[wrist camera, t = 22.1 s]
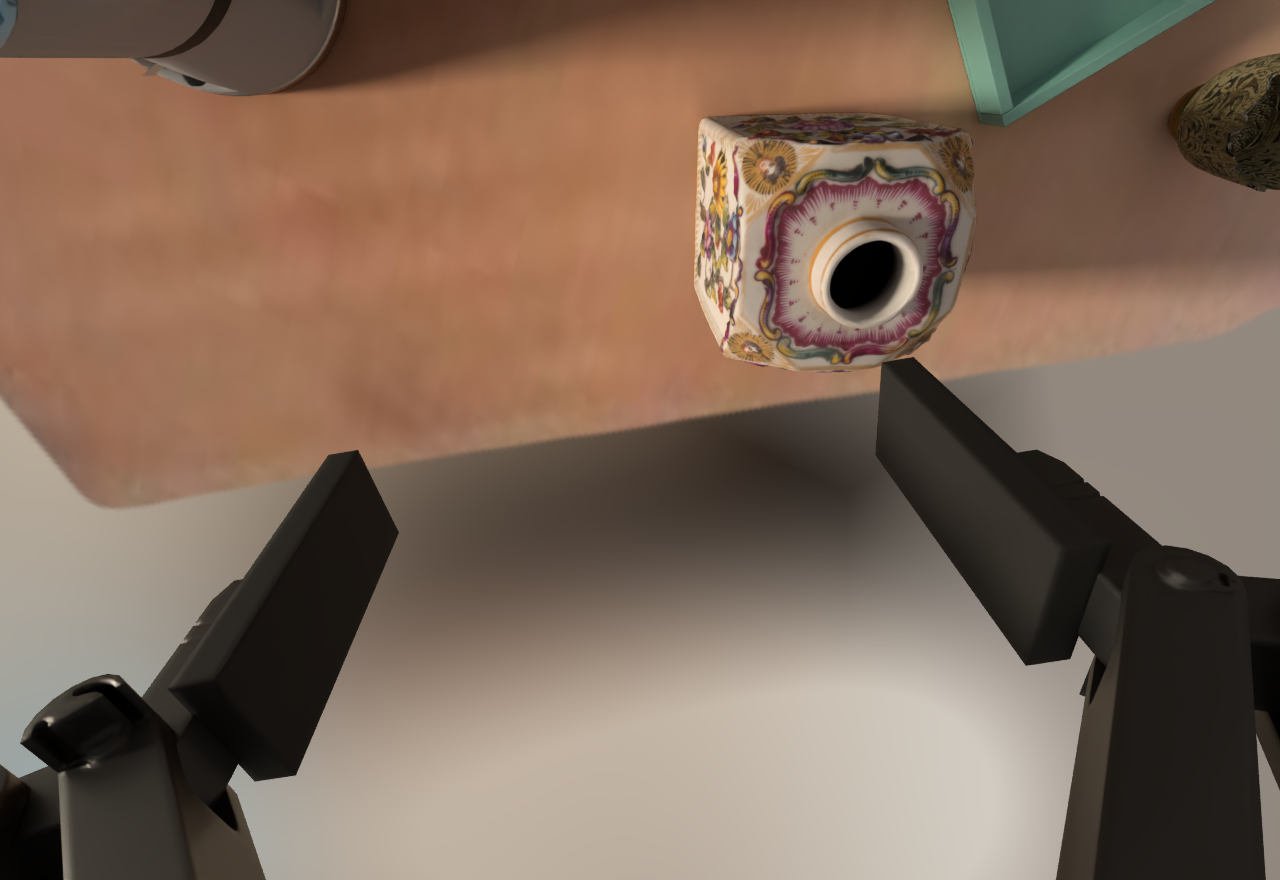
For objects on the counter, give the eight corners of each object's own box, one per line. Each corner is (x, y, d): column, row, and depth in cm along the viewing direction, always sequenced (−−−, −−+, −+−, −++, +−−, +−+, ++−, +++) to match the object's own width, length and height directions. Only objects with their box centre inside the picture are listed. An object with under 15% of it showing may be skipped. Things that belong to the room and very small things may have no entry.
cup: (1235, 151, 42) (1357, 168, 36) (1127, 186, 43) (1226, 209, 36) (1261, 30, 38) (1403, 22, 32) (1141, 71, 39) (1254, 72, 33)
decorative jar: (871, 109, 40) (1042, 137, 24) (843, 283, 46) (964, 391, 30) (691, 114, 39) (751, 144, 24) (687, 289, 45) (732, 402, 30)
